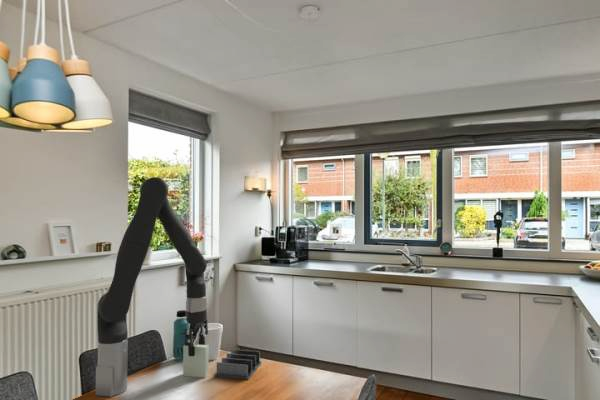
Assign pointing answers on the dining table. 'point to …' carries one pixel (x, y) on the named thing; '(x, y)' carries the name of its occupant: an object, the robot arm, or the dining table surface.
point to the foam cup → (214, 339)
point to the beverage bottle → (179, 334)
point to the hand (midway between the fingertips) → (196, 351)
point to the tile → (196, 361)
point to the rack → (238, 364)
